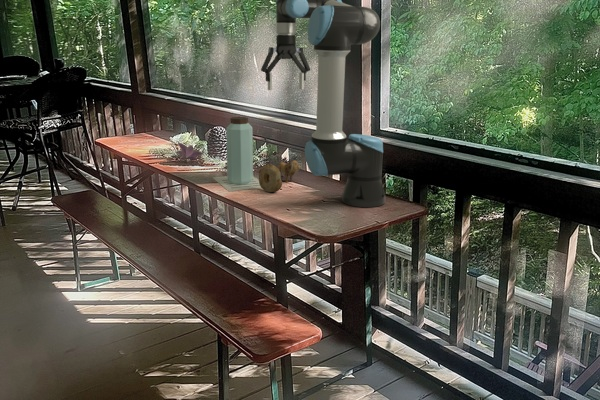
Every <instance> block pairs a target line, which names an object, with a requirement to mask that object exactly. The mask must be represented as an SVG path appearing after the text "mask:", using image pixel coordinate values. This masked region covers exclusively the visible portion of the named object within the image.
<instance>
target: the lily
mask: <svg viewBox="0 0 600 400" xmlns="http://www.w3.org/2000/svg"><path fill="white" fill-rule="evenodd" d="M177 144H178V147H179V148H180V150H177V151H175V154H178V155H180V156H183V160H184V159H190V160H192V159H193V161H194V160H198V156H202V155H204V153H203V152H202V151H199V150H196V149H194V146H193V145H192V144H191V145H188V146H187V145H186V144H183V143H182V142H178V141H177ZM184 162H185V163H184V166H185V165H186V164H187V161H185V160H184Z"/></svg>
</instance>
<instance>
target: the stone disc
mask: <svg viewBox="0 0 600 400" xmlns="http://www.w3.org/2000/svg"><path fill="white" fill-rule="evenodd" d="M258 180H259V184H260V186H261V188H260V189H262V190H263V191H264V192H267V193H276V192H278V191H280V190H281V189H282V186H283V181H282V177H281V173H280V171H279V169H278V166H276V165H274V164H267V165H263V166H261V168H260V169H259V172H258Z"/></svg>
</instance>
